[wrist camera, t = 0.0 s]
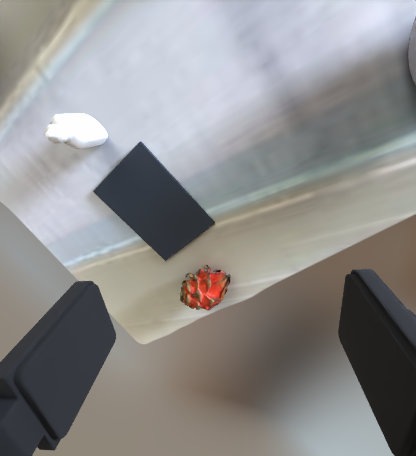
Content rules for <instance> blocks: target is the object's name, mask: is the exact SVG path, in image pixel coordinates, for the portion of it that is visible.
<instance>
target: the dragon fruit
mask: <svg viewBox="0 0 416 456" xmlns="http://www.w3.org/2000/svg"><path fill="white" fill-rule="evenodd" d="M202 267H203V268H205V269H207V272H206V273H204V270H203V269H199V270H198V271H197V274H196V275H193V274H191V273H188V274H186V277H187V275H189V276H190V277H191V279H190V281H188V280H185V281H183V283H182V285H183V287H181V293H180V294H181V295H180V300H181V302H183V303H185V305H187V306H189V307H190V308H192V309H194V308H196V310H199V309H200V308H203V309H206V310H210V309H212V308H213V307H214V306H216V305H218V304H219V303H220V302H221V301H222V300H223V298H224V295H225V294H226V292H227V290H226V289H227V286H228V285H229V283H230V274H229V277H228V276H227V275H225V272H224V271H221V270H215V271H216V272H220V273H216V274H213V273H210V268H209V267H208V265H204V266H202ZM213 272H214V271H213Z"/></svg>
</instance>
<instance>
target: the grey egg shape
mask: <svg viewBox="0 0 416 456" xmlns="http://www.w3.org/2000/svg"><path fill="white" fill-rule="evenodd" d="M408 59H409V68H410V72H411V76H412V78H413V81H414V83H415V85H416V17H415V20H414V23H413V26H412V30H411V35H410V39H409V48H408Z"/></svg>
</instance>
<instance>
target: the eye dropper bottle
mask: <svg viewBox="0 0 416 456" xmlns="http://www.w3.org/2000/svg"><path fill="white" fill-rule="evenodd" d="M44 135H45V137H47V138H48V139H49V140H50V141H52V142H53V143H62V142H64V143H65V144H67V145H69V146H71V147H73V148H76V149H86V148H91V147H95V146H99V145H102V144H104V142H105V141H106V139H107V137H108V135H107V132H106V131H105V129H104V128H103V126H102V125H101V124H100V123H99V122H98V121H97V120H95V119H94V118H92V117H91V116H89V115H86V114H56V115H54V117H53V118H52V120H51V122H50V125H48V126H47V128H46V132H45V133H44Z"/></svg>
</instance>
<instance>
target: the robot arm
mask: <svg viewBox="0 0 416 456" xmlns="http://www.w3.org/2000/svg"><path fill="white" fill-rule="evenodd" d="M338 333H339V338H340V341H341V344H342V346H343V348H344V350H345V352H346V354H347V357H348V358H349V361H350V363H351V365H352V368H353V370H354V372H355V374H356V376H357V378H358V381H359V382H360V385H361V387H362V389H363V391H364V394H365V396H366V398H367V400H368V402H369V404H370V406H371V409H372V411H373V413H374V415H375V417H376V420H377V422H378V424H379V426H380V428H381V430H382V432H383V434H384V437H385V439H386V441H387V443H388V446H389V448H390V450H391V451H392V453H393V454H394V455H395V456H416V315H415V314H413V312H411V311H410V310H408V309H407V308H406V307H405V306H404V305H403V304H402V303H401V301H400V300H399V299H398V298H397V297H396V296H395V295H394V293H393V292H392V291H391V290H390V289H389V288H388V287H387V285H386V284H385V283H384V282H383V281H382V280H381V279H380V277H379V276H378V275H377V274H376V273H375V272H374V271H373V270H371V269H363V270H352V271H351V274H348V275H346V278H345V285H344V293H343V300H342V307H341V315H340V323H339V331H338ZM115 339H116V333H115V330H114V327H113V324H112V322H111V319H110V317H109V314H108V311H107V309H106V306H105V303H104V301H103V298H102V295H101V293H100V290H99V287H98V286H97V285H96V284H94V282H92V281H78V282H75V283H74V284H73V285H72V286H71V287H70V288H69V290H68V291H67V292H66V293H65V294H64V295H63V296H62V297H61V298H60V299H59V300H58V301H57V302H56V303H55V304H54V305H53V307H52V308H51V309H50V310H49V311H48V312H47V313H46V314H45V315H44V316H43V317H42V318H41V319H40V320H39V322H38V323H37V324H36V325H35V326H34V327H33V328H32V329H31V330H30V331H29V332H28V333H27V334H26V336H24V338H23V339H22V340H21V341H20V342H19V343H18V344H17V345H16V346H15V347H14V348H13V349H12V351H10V353H9V354H8V355H7V356H6V357H5V358H4V359H3V360H2V361H1V362H0V456H32V454H33V453H34V451H35V449H36V448H37V447H38V448H39V449H41V450H55V449H56V447H57V445H58V443H59V442H60V440H61V439H62V438H63V437H64V436H65V435H66V434H67V432H68V431H69V429H70V427H71V425H72V423H73V421H74V420H75V418H76V415H77V414H78V412H79V410H80V408H81V406H82V404H83V402H84V400H85V398H86V396H87V394H88V393H89V391H90V389H91V387H92V385H93V383H94V381H95V379H96V377H97V375H98V373H99V371H100V369H101V368H102V366H103V364H104V362H105V360H106V358H107V356H108V354H109V352H110V350H111V348H112V347H113V345H114V343H115Z"/></svg>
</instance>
